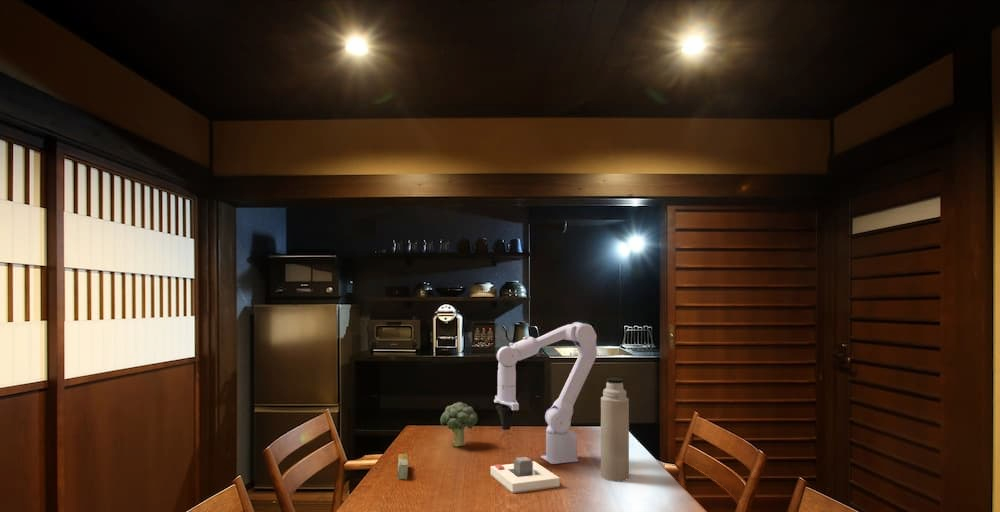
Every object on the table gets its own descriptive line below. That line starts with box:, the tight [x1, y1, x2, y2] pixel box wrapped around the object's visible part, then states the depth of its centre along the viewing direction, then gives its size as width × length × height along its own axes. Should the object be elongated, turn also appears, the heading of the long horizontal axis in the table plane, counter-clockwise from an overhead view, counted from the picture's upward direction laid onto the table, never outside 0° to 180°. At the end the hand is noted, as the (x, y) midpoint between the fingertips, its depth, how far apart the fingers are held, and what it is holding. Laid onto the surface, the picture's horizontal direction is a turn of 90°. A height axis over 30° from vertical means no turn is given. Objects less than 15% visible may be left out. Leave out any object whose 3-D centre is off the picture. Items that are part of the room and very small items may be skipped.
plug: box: [513, 456, 533, 477], centre depth 159 cm, size 4×4×6 cm
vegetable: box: [439, 401, 479, 447], centre depth 194 cm, size 12×13×15 cm
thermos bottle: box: [600, 377, 630, 482], centre depth 164 cm, size 8×8×28 cm
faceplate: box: [489, 460, 561, 494], centre depth 159 cm, size 14×16×3 cm
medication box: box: [397, 453, 409, 480], centre depth 164 cm, size 12×3×4 cm, turn 11°
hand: (506, 429), depth 177 cm, fingers closed
